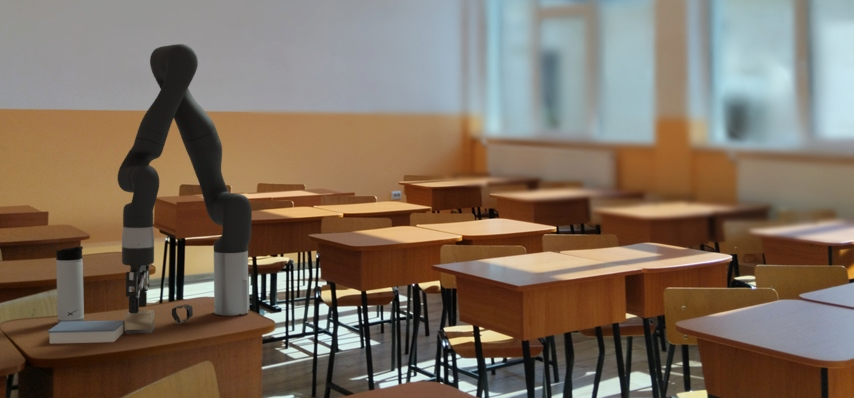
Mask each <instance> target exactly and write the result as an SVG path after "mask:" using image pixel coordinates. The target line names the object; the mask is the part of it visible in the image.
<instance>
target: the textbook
mask: <svg viewBox="0 0 854 398" xmlns="http://www.w3.org/2000/svg"><path fill="white" fill-rule="evenodd" d="M46 332H47V334H49V335H48V336H49V344H84V343H85V344H90V343H114V342H115V341H116V340H118V339H119V337H121V336H122V335H123V334H126V319H124V320H123V319H122V320H120V319H119V320H118V319H116V320H84V321H68V322H60V323H57V324H56V325H55V326H53V327H51V328H50V329H48V330H47V331H46Z"/></svg>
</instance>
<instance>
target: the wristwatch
mask: <svg viewBox="0 0 854 398" xmlns="http://www.w3.org/2000/svg"><path fill="white" fill-rule="evenodd" d="M182 308H184V309H185V311H186V318H185V319H183V320H182V321H181V319H180V317H179V315H178V313H177V309H182ZM193 311H194V310H193V306H192V305H190V304H187V303H185V304H183V305H182V304H181V305H180V304H179V305H176V306H174V307H173V308H172V309H171V316H172V318H173V320H174V321H176V324H177V325H182V324H184V323H186V322H187V321H189V320H190V319H191V317H192V316H193V315H194V312H193Z"/></svg>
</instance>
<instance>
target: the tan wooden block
mask: <svg viewBox="0 0 854 398" xmlns="http://www.w3.org/2000/svg"><path fill="white" fill-rule="evenodd" d="M155 327H156V326H155V309H143V310H142V309H139V312H138V313H129V310H128V311H127V312H126V313H125V334H127V335H128V334H151V333H153V332H154V330H155V329H156V328H155Z"/></svg>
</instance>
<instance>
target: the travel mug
mask: <svg viewBox="0 0 854 398" xmlns="http://www.w3.org/2000/svg"><path fill="white" fill-rule="evenodd" d="M83 249H84V247H83V246H81V245H80V246H75V247H67V248H61V249H56V252H55V253H56V255H55V256H56V257H55V258H56V261H55V263H56V265H55V266H56V298H57V299H56V303H57V306H56V307H57V308H56V309H57V324H59V323H60V322H68V321H85V316H84V315H85V308H84V307H85V306H84V301H85V300H84V263H83V261H84V260H83Z"/></svg>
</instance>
